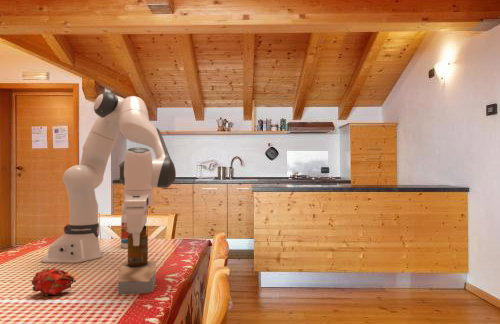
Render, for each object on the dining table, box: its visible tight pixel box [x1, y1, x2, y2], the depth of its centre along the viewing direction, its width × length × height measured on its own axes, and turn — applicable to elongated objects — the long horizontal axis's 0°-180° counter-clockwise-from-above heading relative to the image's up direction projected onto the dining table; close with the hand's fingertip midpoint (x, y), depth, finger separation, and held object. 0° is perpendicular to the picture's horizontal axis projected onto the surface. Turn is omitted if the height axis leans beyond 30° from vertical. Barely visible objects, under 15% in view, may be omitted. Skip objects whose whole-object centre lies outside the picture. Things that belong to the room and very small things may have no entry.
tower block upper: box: [118, 260, 157, 283], centre depth 117 cm, size 9×9×4 cm
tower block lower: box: [117, 273, 156, 295], centre depth 117 cm, size 10×10×4 cm
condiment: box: [121, 224, 155, 269], centre depth 117 cm, size 7×8×12 cm
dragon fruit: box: [31, 267, 77, 298], centre depth 111 cm, size 8×8×12 cm
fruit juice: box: [120, 202, 129, 250], centre depth 179 cm, size 9×9×28 cm
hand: (137, 243), depth 117 cm, fingers closed on condiment, 6 cm apart
